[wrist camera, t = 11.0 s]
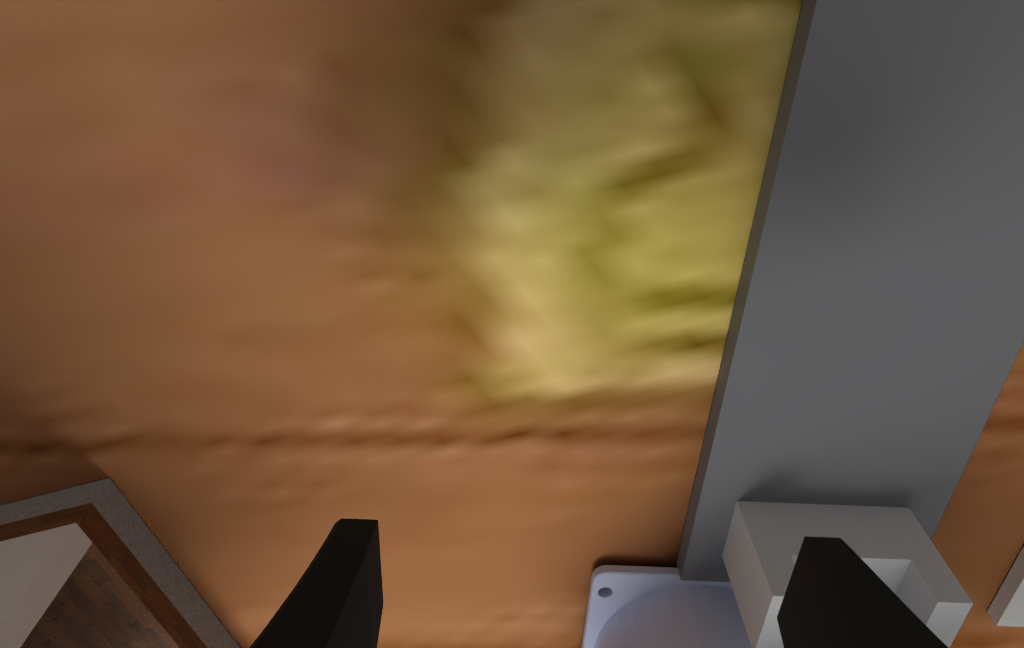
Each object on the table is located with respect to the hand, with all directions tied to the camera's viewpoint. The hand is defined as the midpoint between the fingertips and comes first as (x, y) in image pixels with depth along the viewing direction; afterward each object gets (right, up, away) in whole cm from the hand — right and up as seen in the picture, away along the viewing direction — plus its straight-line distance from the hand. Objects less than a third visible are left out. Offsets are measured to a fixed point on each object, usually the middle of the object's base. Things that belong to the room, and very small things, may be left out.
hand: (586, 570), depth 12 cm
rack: (+9, +6, +7) cm, 13 cm away
